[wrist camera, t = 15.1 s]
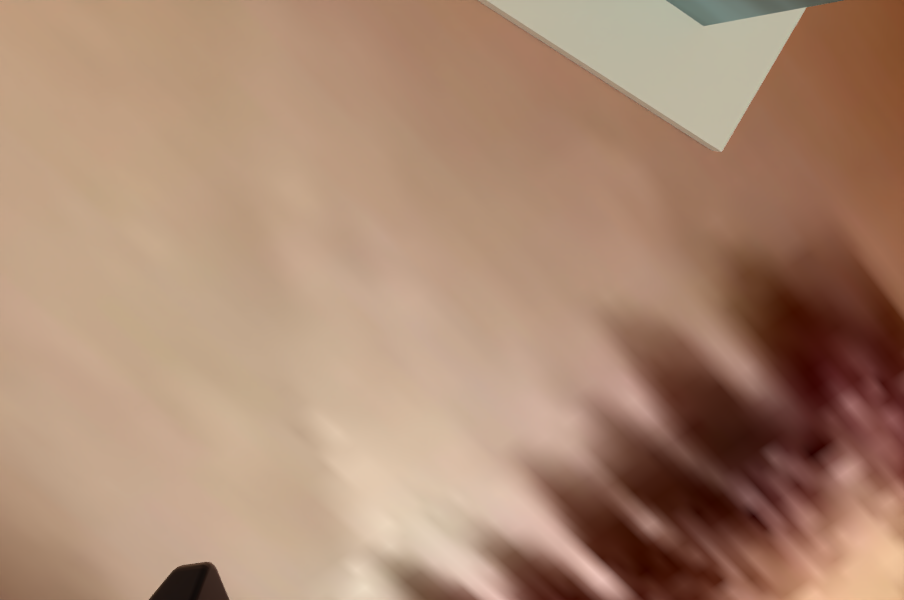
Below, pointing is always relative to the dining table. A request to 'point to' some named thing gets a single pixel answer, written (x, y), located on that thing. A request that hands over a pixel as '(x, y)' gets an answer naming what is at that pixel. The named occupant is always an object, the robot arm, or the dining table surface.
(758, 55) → the mat
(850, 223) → the dining table surface
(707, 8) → the post
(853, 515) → the dining table surface
